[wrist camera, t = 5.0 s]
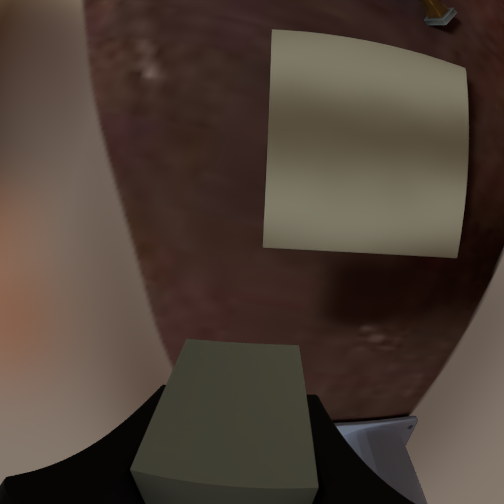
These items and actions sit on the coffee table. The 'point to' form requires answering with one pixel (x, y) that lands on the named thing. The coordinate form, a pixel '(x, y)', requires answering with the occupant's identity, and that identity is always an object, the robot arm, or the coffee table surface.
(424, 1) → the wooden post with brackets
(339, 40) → the beige flat square block
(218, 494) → the sage block
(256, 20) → the coffee table surface
